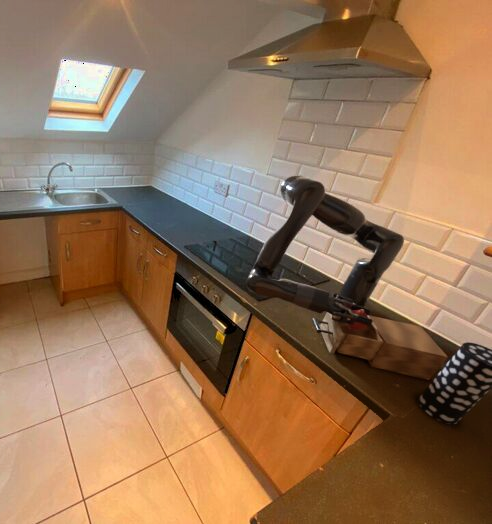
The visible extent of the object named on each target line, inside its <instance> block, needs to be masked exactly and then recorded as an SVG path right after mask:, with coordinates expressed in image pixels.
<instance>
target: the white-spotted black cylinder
mask: <svg viewBox="0 0 492 524" xmlns="http://www.w3.org/2000/svg"><path fill="white" fill-rule="evenodd" d="M491 389H492V349H491V348H490V347H487V346H484V345H482V344H480V343H479V344H478V343H475V342H471V341H470V342H469V341H468V342H467V341H465V342H463V343H462V345H460V347H459V348H458V349H457V351H456V352H455V353H453V355H452V356H451V357H450V359H449V360H448V361H447V362H446V364H444V366H443V367H442V368H441V369H440V371H439V372H438V373H437V374H436V376H435V377H434V378H433V379H432V380H431V382H430V383H429V384H428V385H427V386H426V388H425V389H424V390H423V391H422V392H421V393H420V395H419V396H418V397H417V402H418V405H419V406H420V408H421V409H423V411H425V413H426V414H428V415H429V416H431V417H432V418H433V419H436V420H437V421H440V422H441V423H444V424H447V425H457V424H458V422H459V421H461V420H462V418H464V416H466V414H467V413H468V412H469V411H470V410H472V408H474V406H475V405H477V404H478V402H479V401H480V400H481V399H483V397H484V396H485V395H486V394H487V393H489V391H490V390H491Z"/></svg>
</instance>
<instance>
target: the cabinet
mask: <svg viewBox="0 0 492 524" xmlns="http://www.w3.org/2000/svg"><path fill="white" fill-rule="evenodd" d="M367 317H368V318H370V319H372V321H373V322H372V323H371V324H372V326H373V327H374V329H375V330H376V332H377V333H378V335H379V336H380V338H381V339H382V341H383V342H384V344H383V346H382V347H381V349H380V350H379V352H378V353H377V355H376V356H375V358H374V360H373V361H372V360H367V362H368V364H369V365H370V366H371V367H372V368H377V369H380V370H384V371H388V372H392V373H398V374H402V375H406V376H410V377H414V378H418V379H422V380H426V381H430V379H431V378H432V377H433V376H434V374H436V372H437V371H438V370H439V369H440V367H442V365H443V364H444V362H445V361H446V360H447V359H448V355H447V354H446V353H445V352H444V350H442V348H440V346H439V345H438V344H437V343H436V342H435V341H434V340H433V338H432V337H431V336H430V335H429V334H428V332H427V331H425V329H424V328H423V327H422V326H420V325H416V324H411V323H406V322H402V321H397V320H392V319H388V318H383V317H378V316H373V315H370V314H368V315H367Z"/></svg>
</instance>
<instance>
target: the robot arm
mask: <svg viewBox="0 0 492 524" xmlns="http://www.w3.org/2000/svg"><path fill="white" fill-rule="evenodd" d="M279 195H280V197H281V199H282V200H283V202H284V203H286V204H287V205H289V206H290V207H292V209H291V212H290V213H289V216H288V217H287V219H286V220H285V221H284V223H283V224H282V225H281V226H280V227H279V228H277V229H276V230H275V231H274V232H273V233H271V234H270V235H269V236H268V237H267V238H266V240H265V242H264V244H263V245H262V248H261V250H260V252H259V253H258V256H257V259H256V261H255V263H254V264H253V267H252V269H251V270H250V272H249V274H248V275H247V278H246V280H245V286H246V288H247V290H248V291H249V292H251V293H252V294H254V295H257V296H259V297H260V296H261V297H266V298H272V299H273V298H274V299H279V300H282V301H285V302H287V303H290V304H293V305H295V306H297V307H299V308H302V309H306V310H308V311H311V312H315V313H317V314H323V313H324V312H326V313H327V312H328V313H330V314H332V318H331V319H332V320H334V321H338V322H342V323H346V324H350V325H353V324H354V322H358V323H361V324H364V325H367V326H370V325H371V323H372V322H373V321H372V319H370V318H367V317H364V316H361V315H358V314H356V313H354V312H352V311H353V310H361V309H363V310H364V312H365V313H366V315H367V316H368V315H370V312H371V310H370V308H368V307H366V305H367V303H368V302H369V300H370V298H371V296H372V294H373V292H374V291H375V289H376V287H377V285H378V284H379V282H380V280H381V278H382V277H383V275H384V273H385V272H386V271H387V270H388V269H389V268H390V267H391V265H392V264H393V262H394V261H395V259H396V258H397V257H398V254H399V253H400V251H401V250H402V248H403V246H404V243H405V238H404V236H403V235H402V234H400V233H399V232H397V231H395V230H392V229H389V228H387V227H385V226H382V225H379V224H376V223H374V222H372V221H369V220H367V219H366V215H365V214H364V212H363V211H361V210H360V209H359V208H358V207H356V206H354V205H353V204H351V203H349V202H347V201H345V200H343V199H341V198H340V197H339V198H338V197H337V196H334V195H331V194H329V193H328V192H326V188H325V185H324V183H322V182H321V181H319V180H316V179H314V178H311V177H309V176H306V175H302V174H295V175H290V176H288V177H287V178H285V179H284V180H283V182H282V183H281V185H280V188H279ZM311 217H314V218H315V219H316V220H318V221H319V222H320V223H321V224H323V225H324V226H326V227H327V228H329V229H331V230H332V231H333V232H336V233H337V234H340V235H342V236H346V237H350V238H352V239H353V240H354V241H356V242H357V243H358V244H359V245H360V246H361V247H362V248H364V249H365V250H367V251H369V252H371V253H372V254H373V255H372V257H371V258H367V257H360V258H356V260H355V261H354V263H353V265H352V267H351V269H350V271H349V273H348V275H347V278H346V280H344V282H343V284H342V286H341V288H340V289H339V291H338V293H337V292H332V294H331V293H330V291H328V290H325V289H322V288H318V287H315V286H312V285H309V284H305V283H300V282H297V281H294V280H291V279H287V278H280V279H274V278H272V277H273V275H274V273H275V270H276V269H277V268H278V267H279V265H280V264H281V263H282V260H283V259H284V256H285V255H286V253H287V251H288V249H289V248H290V246H291V244H292V242H294V239H295V238H296V237H297V236H298V234H299V233H300V232H301V230H302V229H303V228H304V226H305V225H306V224H307V223H308V221H309V220H310V218H311ZM348 314H350V315H348ZM346 319H348V320H350V321H348V320H346Z"/></svg>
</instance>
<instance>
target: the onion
mask: <svg viewBox="0 0 492 524" xmlns="http://www.w3.org/2000/svg"><path fill="white" fill-rule="evenodd" d="M352 312H354V313H356V314H358V315H361V316H364V317H367V316H368V315H366V313H365V312H364V310H363V309H361V310H353V311H352ZM348 315H350V314H348ZM367 318H368V317H367ZM346 320H348V319H346ZM348 321H350V320H348ZM347 325H348V326H349V328H350V329H351V330H361V329H364V328H365V327H367V325H364V324H361V323H358V322H354V324H353V325H350V324H347Z"/></svg>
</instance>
